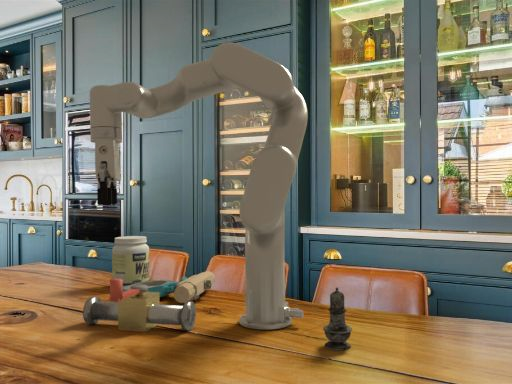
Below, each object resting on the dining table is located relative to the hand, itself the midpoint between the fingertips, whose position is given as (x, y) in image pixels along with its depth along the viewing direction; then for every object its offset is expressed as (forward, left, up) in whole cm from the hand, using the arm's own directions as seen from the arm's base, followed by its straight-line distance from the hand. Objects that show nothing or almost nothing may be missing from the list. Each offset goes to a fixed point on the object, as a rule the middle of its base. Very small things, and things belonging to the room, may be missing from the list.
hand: (107, 204), depth 114 cm
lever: (-10, +8, -21) cm, 25 cm away
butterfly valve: (-3, -25, -29) cm, 39 cm away
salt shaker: (-57, +8, -29) cm, 64 cm away
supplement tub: (+14, -36, -29) cm, 48 cm away
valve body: (-10, +4, -29) cm, 31 cm away
